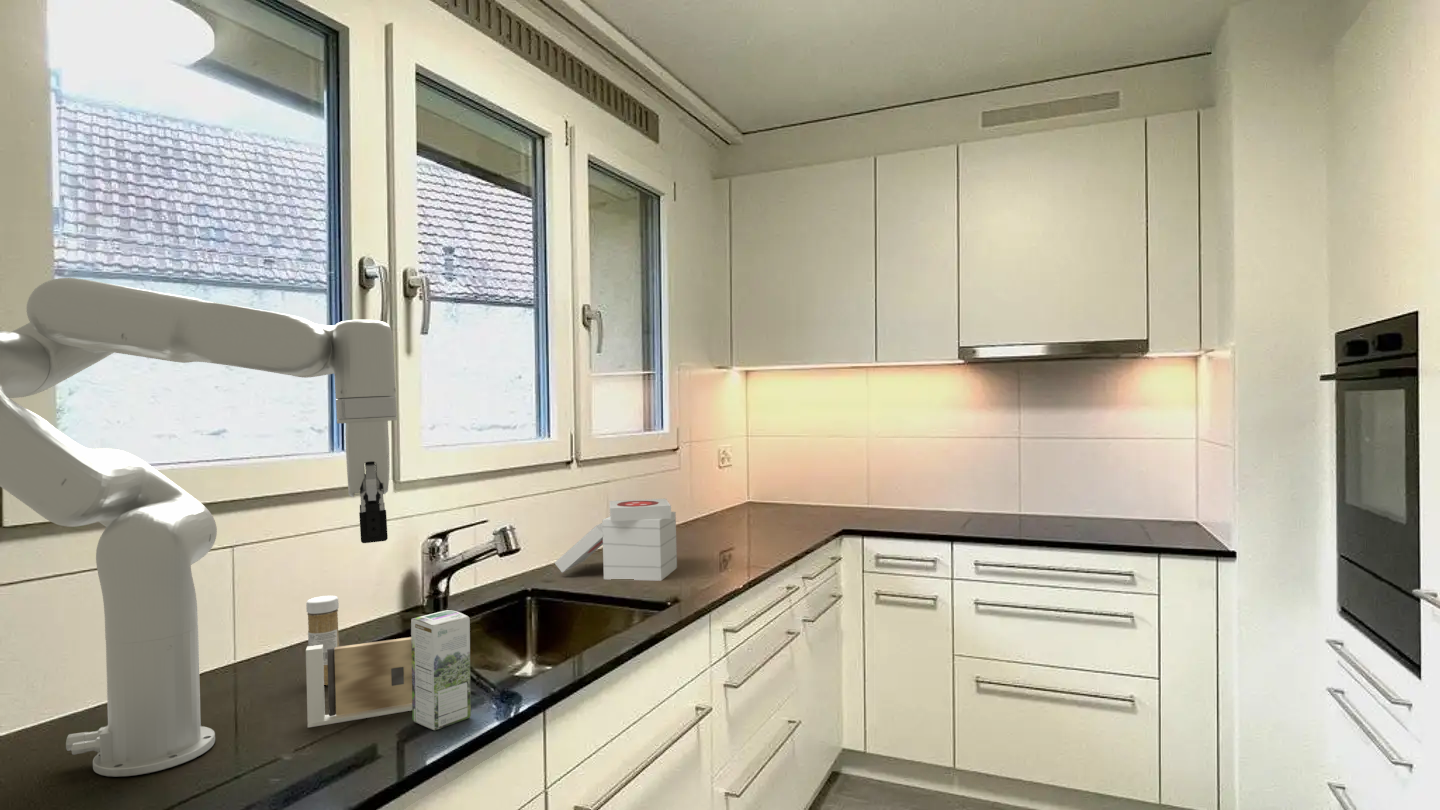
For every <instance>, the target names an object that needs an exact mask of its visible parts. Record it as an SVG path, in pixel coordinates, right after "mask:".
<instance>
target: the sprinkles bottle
mask: <svg viewBox="0 0 1440 810" xmlns="http://www.w3.org/2000/svg"><path fill="white" fill-rule="evenodd" d="M339 603H340V602H339V597H338V596H336V595H321V596H315V597H312V598H310V599H307V601H306V613H307V621H308V623H307V625H308V626H307V627H308V631H307V638H308V644H307V645H308V646H315V645H322V644H323V660H324V685H326V686H328V663H327V649H329V648H334V655H335V647H340V639H339V638H340V637H339V617H338V616H339V615H338V612H339Z"/></svg>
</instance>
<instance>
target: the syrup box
mask: <svg viewBox="0 0 1440 810" xmlns="http://www.w3.org/2000/svg"><path fill="white" fill-rule="evenodd" d="M410 621H411V623H410V627H411V628H410V635H411V636H410V637H411V645H412V710H411V711H412V713H411V714H412V721H413V722H414V723H416V724H419V725H421V726H423V727H425V728H428V729H429V730H433V731H437V730H440V729H442V728H446V727H448V726H451V725H453V724H456V723H459V722H462V721H464V720H467V719H469V718H471V716H472V715H471V714H472V713H471V712H472V711H471V710H472V709H471V705H472V703H471V632H470V631H471V627H470V626H471V625H470V624H471V621H470V617H469V616H468V615H466V614H464V613H462V612H460V611H456V610H451V609H446V610H442V611H437V612H434V613H429V614H425V615H421V616H417V617H414V618H413V617H412V618H411V619H410Z"/></svg>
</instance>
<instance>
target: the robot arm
mask: <svg viewBox="0 0 1440 810" xmlns="http://www.w3.org/2000/svg"><path fill="white" fill-rule="evenodd" d="M26 315H27V318H28V321H29V322H28V323H25V325H23V326H20V327H19V328H17V329H13V330H12V331H8V330H1V329H0V488H2V489H3V490H5V491H6V492H8V493H9V494H10V495H12V496H13V497H15V498H16V499H17V500H18V501H20V502H22V503H23V505H26V506H27V507H29V508H30V509H31V510H32V511H34V512H35V513H37V514H38V515H39V516H41V517H42V518H44V519H46V520H47V521H48V522H51V523H53V524H55V525H57V526H61V527H73V528H74V527H80V526H81V527H82V526H87V525H92V524H95V523H100V524H101V525H103V526H104V527H105V529H104V530H103V531H102V532H101V535H100V537H99V540H98V542H97V546H96V550H95V551H96V552H95V563H96V571H97V575H98V579H99V583H100V588H101V594H102V602H103V610H104V612H103V613H104V627H105V628H104V631H105V633H104V636H105V638H104V639H105V654H106V655H105V658H106V659H105V660H106V663H105V664H106V694H107V695H106V697H107V701H106V702H107V725H105V726H101V727H100V728H99V729H98V730H95V731H84V732H77V733H76V732H75V733H69V734H68V735H67V737H66V742H65V749H66V751H71V755H74V756H75V755H78V754H86V753H88V752H89V753H90V752H93V751H94V752H95V753H97V754H96V755H95V756H94V757H93V759H92V770H93V772H94V773H96V774H98V775H100V776H105V777H115V778H116V777H117V778H118V777H119V778H120V777H132V776H133V777H134V776H139V775H145V774H146V775H147V774H150V773H155V772H160V771H162V770H167V769H170V768H174V767H176V766H180V765H182V764H184V763H187V762H189V761H192V760H194V759H196V758H197V757H199V756H201V755H204V754H205V753H207V752H208V751H209V750H211V748H212V747H213V746H214V745H215V742H216V732H215V730H214V729H212V728H210V727H207V726H204V725H203V726H202V725H201V723H202V722H201V718H202V717H201V686H200V654H199V653H200V650H199V649H200V648H199V647H200V646H199V623H198V621H199V620H198V619H199V617H198V616H199V615H198V601H197V593H196V589H195V583H194V579H193V573H192V565H194V564H195V563H196V562H198V561H200V560H201V559H203V558H204V557H206V555H207V554H208V553H209V552H210V551H211V549H212V548H213V546H214V545H215V542H216V539H217V535H218V534H217V533H218V528H217V527H218V526H217V523H216V520H215V518H214V516H213V514H212V513H211V511H210V510H209V509H208V508H207V507H206V506H205V505H204V504H203V503H202V502H201V501H199V500H198V499H197V498H195V497H194V496H193V495H191V494H190V493H189V492H188V491H186V490H185V489H183V488H182V487H181V486H179V485H178V484H177V483H175V482H174V481H172V480H171V479H170V478H168V477H167V476H166V475H165V474H163V473H162V472H160V471H159V470H157V469H156V468H154V467H153V466H152V465H151V464H149V463H148V462H147V461H144V459H142V458H140V457H138V456H137V455H134V454H132V453H130V452H128V451H126V450H121V449H118V448H111V447H97V448H96V447H95V448H90V447H85V446H84V445H82V444H80V443H78V442H76V440H73V439H72V438H70V436H68V435H66V434H65V433H63V432H61V431H60V430H59V429H57V427H55V426H54V425H52V424H51V423H50V422H49V421H48V420H46V419H45V418H43V417H41V415H39V414H37V413H35V412H33V411H31V410H30V409H28V408H26V407H25V406H22V405H21V404H19V403H17V402H16V401H15V400H13V399H15V398H16V399H17V398H26V397H30V396H34V395H37V394H39V393H42V392H44V391H47V390H48V389H50V388H53V387H54V386H56V385H59V384H60V383H62V382H65V381H66V380H67V379H69V378H71V377H73V376H75V375H77V374H78V373H80V372H82V371H84V370H85V369H87V368H89V367H91V366H93V365H95V364H96V363H97V364H98V362H100V361H102V360H104V359H105V358H107V357H109V356H111V355H112V354H114V353H115V354H121V355H128V356H136V357H140V358H141V357H142V358H148V359H155V360H162V361H168V362H173V363H183V364H186V363H198V362H199V363H208V364H216V365H222V366H229V367H237V368H244V369H249V370H257V371H262V372H268V373H274V374H281V375H285V376H286V375H287V376H291V377H296V378H314V377H315V378H316V377H321V376H323V377H324V376H327V375H333V374H334V389H335V392H334V393H335V408H336V423H337V424H345V455H346V474H347V489H348V490H347V491H348V492H347V493H348V496H349V497H351V498H355V494H356V493H357V494H358V493H359V496H360V504H359V512H358V514H359V530H360V531H359V533H360V542H361V543H362V544H369V543H379V542H386V541H387V540H388V523H387V522H388V520H387V518H388V517H387V510H386V509H385V502H384V495H385V494H387V493H388V492H389V486H390V485H389V483H390V438H389V435H390V434H389V422H392V421H398V412H397V411H398V410H397V397H396V396H397V393H396V391H397V390H396V377H395V376H396V375H395V374H396V372H395V358H394V356H395V355H394V339H393V337H394V336H393V331H392V328H391V326H390V325H389V324H388V323H387V322H385V321H381V320H377V319H375V320H374V319H350V320H342V321H340V322H337V323H336V324H334V325H329V324H328V325H327V324H320V323H319V324H318V323H316V322H315V323H314V322H312V321H310V320H308V319H306V318H303V317H300V316H297V315H292V314H287V313H282V312H275V311H269V310H264V309H257V308H252V307H251V308H250V307H247V306H239V305H233V304H227V303H222V302H221V303H220V302H213V301H208V300H204V299H203V300H202V299H200V298H197V297H192V296H191V297H190V296H184V295H178V294H171V293H166V292H160V291H154V290H148V289H141V288H136V287H130V286H125V285H119V284H114V283H107V282H102V281H95V280H90V279H83V278H75V277H61V278H54V279H51V280H48V281H45V282H43V283H40V284H39V285H38V286H37V287H36V288H34V289H33V291H32V292H31V294H30V295H29V297H28V299H27V302H26Z"/></svg>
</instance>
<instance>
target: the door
mask: <svg viewBox="0 0 1440 810" xmlns="http://www.w3.org/2000/svg"><path fill="white" fill-rule="evenodd" d="M327 663H328V685H327V690H328V691H327V693H328V696H327V697H328V698H327V699H328V701H327V702H328V715H329V716H334V715H336V716H337V715H343V714H349V713H355V712H361V711H367V710H374V709H380V708H386V707H392V706H398V705H404V704H410V703H412V645H411V636H409V637H401V638H396V639H395V638H394V639H386V640H379V641H371V642H364V643H357V644H349V645H339V647H335V655H334V648H329V649H327Z"/></svg>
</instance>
